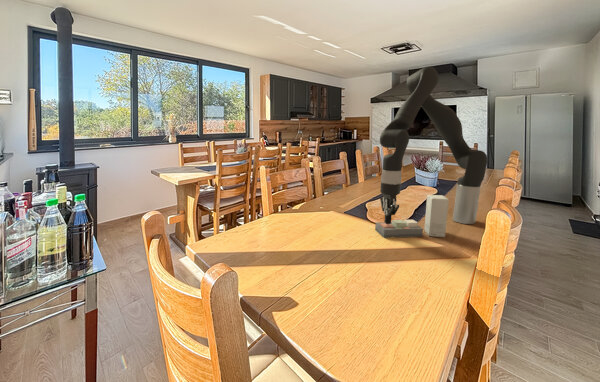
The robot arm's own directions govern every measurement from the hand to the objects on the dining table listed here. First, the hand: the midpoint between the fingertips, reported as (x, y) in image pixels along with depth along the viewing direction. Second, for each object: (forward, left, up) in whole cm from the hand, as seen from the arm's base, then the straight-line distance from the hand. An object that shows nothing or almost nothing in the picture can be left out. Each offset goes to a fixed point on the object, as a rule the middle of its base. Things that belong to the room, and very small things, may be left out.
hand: (387, 223), depth 116 cm
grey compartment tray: (-4, +2, -4) cm, 6 cm away
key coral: (0, 0, -3) cm, 3 cm away
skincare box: (-17, +9, -5) cm, 20 cm away
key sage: (-4, +2, -1) cm, 5 cm away
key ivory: (-9, +4, -1) cm, 10 cm away
